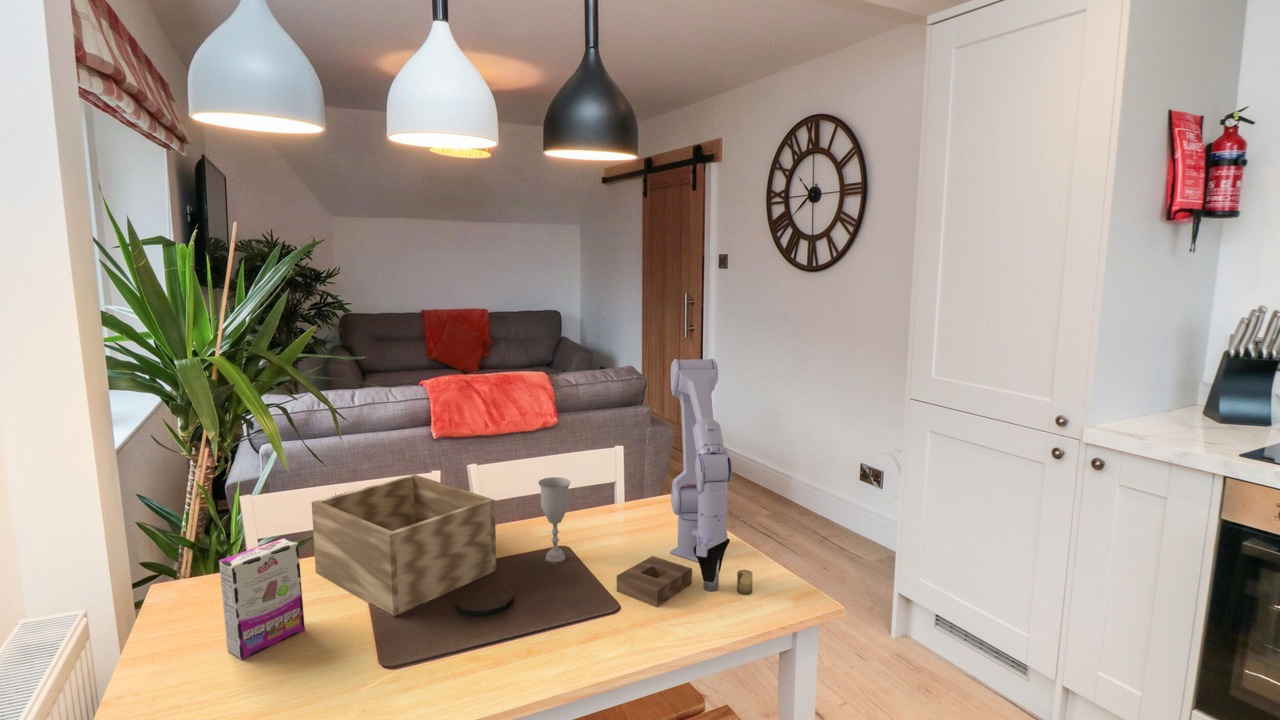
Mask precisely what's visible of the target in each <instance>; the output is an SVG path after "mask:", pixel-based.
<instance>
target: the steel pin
mask: <svg viewBox="0 0 1280 720" xmlns="http://www.w3.org/2000/svg"><path fill="white" fill-rule="evenodd" d="M719 574H720V572H719V561H718V564H717V570H716V576H715V580H714V582H713V583H712V582H707V581H703V590H704V591H706V592H710V593H711V592H712V593H713V592H717V591H719V585H720V584H719V580H720V579H719V578H720V575H719Z"/></svg>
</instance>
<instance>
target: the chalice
mask: <svg viewBox="0 0 1280 720" xmlns="http://www.w3.org/2000/svg"><path fill="white" fill-rule="evenodd" d="M537 483H538V485H539V487H540V506H541V508H542V511H543V514H544V515H545V518H546V519H547V521H548V523H550V524H552V530H551V534H552V538H551V540H550V541H551V542H552V547H551V549H549V550H547V553H546V555H545V559H546V560H547V561H550V562H559V561H562V560H564V559H565V560H566V556H565V553H564V551H563V550H562V549H560V548H559V546H558V542H559V541H560V539H559V537H558V534H559V529H558V525H559V524H560V523H562V521H563V519H564V517H565V515H566V513H567V511H568V506H569V487H570V485H571V483H572V482H571V480H570V479H568V478H566V477H565V478H564V477H559V476H558V477H557V476H555V477H554V476H553V477H545V478H542V479H540V480H539V481H538V482H537ZM546 560H545V561H546ZM565 560H564V561H565ZM547 561H546V562H547Z"/></svg>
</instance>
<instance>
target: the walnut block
mask: <svg viewBox="0 0 1280 720" xmlns="http://www.w3.org/2000/svg"><path fill="white" fill-rule="evenodd" d="M692 577H693V567H692V568H691V567H689V566H685V565H681V564H679V563H677V562H673V561H669V560H667V559H663V558H660V557H658V556H654V555H651V556H650V557H648V558H646V559H644V560H643V561H641V562H639V563H637V564H635V565H634V566H631V567H630V568H628V569H626V570H624V571H623V572H620V573H619V574H616V592H617V593H619V594H622V595H624V596H627V597H630V598H632V599H635V600H637V601H639V602H643V603H645V604H647V605H650V606H653V607H655V608H659V607H660V606H662V605H663V604H665V603H666V602H668V601H669V600H670V599H672V598H674V597H675V596H676V595H678V594H680V593H681V592H683V591H684V590H685V589H686V588H689V587H690V586H691V585H692V583H693V578H692Z"/></svg>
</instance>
